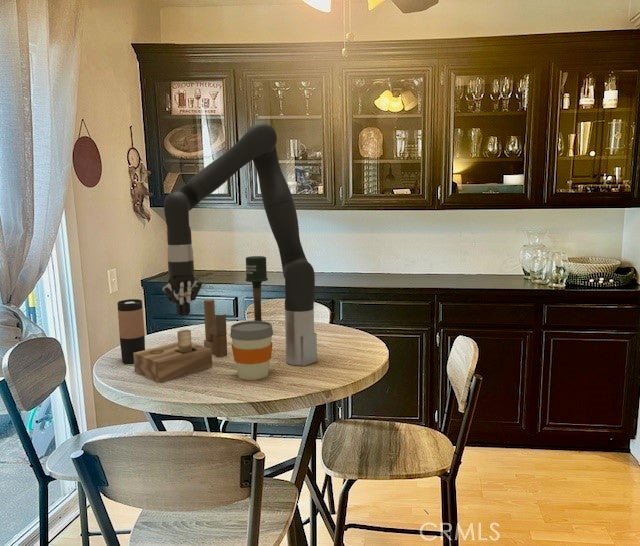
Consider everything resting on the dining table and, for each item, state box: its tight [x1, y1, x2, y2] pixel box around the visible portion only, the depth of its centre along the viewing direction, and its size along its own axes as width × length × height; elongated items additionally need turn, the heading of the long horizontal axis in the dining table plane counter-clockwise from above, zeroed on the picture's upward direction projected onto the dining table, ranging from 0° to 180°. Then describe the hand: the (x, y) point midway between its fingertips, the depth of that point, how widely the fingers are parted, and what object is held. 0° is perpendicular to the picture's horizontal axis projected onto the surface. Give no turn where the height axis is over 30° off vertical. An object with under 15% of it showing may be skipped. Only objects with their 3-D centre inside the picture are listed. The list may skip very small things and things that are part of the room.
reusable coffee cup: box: [229, 320, 274, 381], centre depth 152 cm, size 13×13×15 cm
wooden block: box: [203, 298, 228, 358], centre depth 174 cm, size 4×11×18 cm, turn 38°
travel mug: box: [116, 298, 146, 365], centre depth 166 cm, size 8×8×20 cm
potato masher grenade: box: [245, 255, 269, 321], centre depth 198 cm, size 8×9×30 cm
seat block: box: [133, 341, 213, 384], centre depth 158 cm, size 15×18×6 cm
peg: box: [177, 329, 192, 354], centre depth 158 cm, size 4×4×12 cm
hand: (183, 315), depth 157 cm, fingers closed
